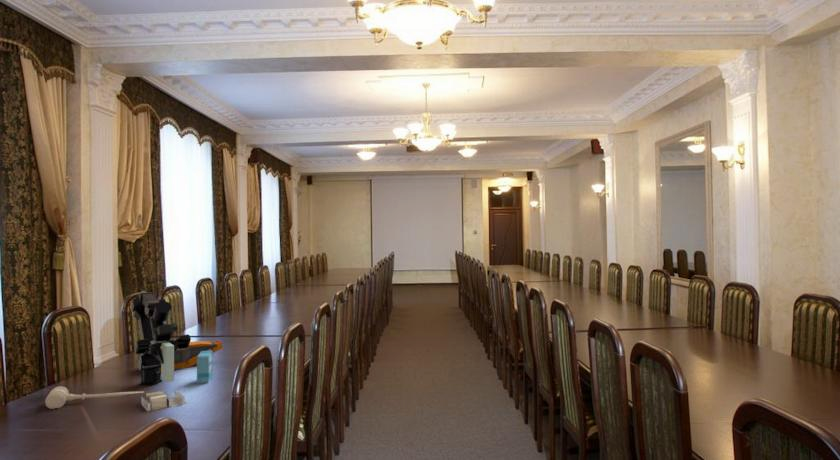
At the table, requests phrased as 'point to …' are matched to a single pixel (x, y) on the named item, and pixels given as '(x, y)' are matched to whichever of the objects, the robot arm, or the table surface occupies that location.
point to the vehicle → (193, 353)
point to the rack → (175, 401)
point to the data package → (204, 367)
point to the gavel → (73, 396)
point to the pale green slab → (167, 362)
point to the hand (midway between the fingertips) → (167, 362)
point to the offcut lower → (158, 405)
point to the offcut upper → (156, 397)
